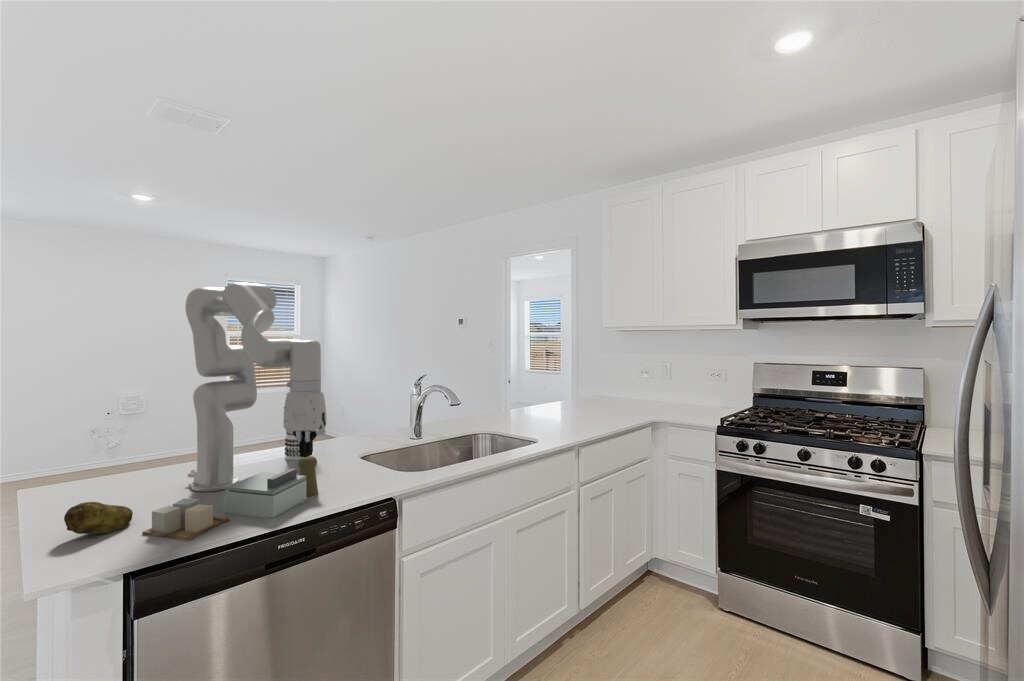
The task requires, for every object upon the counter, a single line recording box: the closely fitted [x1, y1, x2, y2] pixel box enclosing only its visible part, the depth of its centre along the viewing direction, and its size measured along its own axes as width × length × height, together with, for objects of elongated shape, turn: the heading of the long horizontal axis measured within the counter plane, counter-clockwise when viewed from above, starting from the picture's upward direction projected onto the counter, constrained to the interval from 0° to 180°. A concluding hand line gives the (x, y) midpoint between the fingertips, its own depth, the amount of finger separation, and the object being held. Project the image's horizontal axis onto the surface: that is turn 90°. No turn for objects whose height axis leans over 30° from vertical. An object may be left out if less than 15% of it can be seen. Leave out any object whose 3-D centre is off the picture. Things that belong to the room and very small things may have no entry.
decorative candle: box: [284, 390, 302, 460], centre depth 187 cm, size 9×9×25 cm
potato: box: [63, 501, 134, 536], centre depth 117 cm, size 8×13×8 cm, turn 138°
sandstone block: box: [185, 503, 214, 532], centre depth 120 cm, size 4×4×5 cm
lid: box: [225, 468, 306, 495], centre depth 135 cm, size 14×14×3 cm
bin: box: [224, 480, 307, 519], centre depth 135 cm, size 14×14×6 cm
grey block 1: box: [151, 505, 181, 533], centre depth 118 cm, size 4×4×5 cm
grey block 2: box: [172, 498, 200, 525], centre depth 124 cm, size 4×4×5 cm
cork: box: [297, 455, 319, 498], centre depth 146 cm, size 6×6×11 cm
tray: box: [141, 515, 231, 542], centre depth 120 cm, size 13×12×1 cm
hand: (306, 455), depth 132 cm, fingers closed
